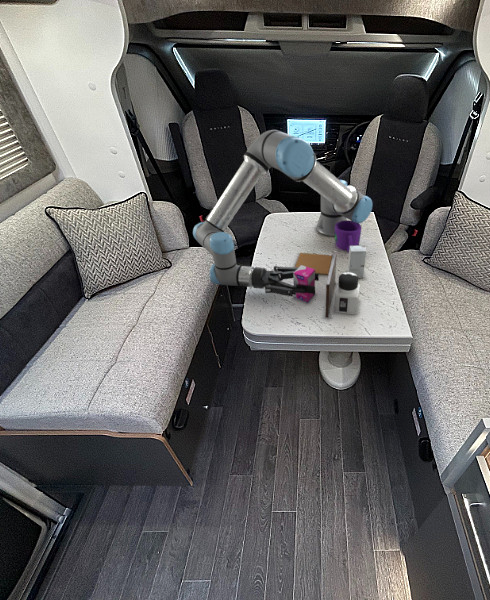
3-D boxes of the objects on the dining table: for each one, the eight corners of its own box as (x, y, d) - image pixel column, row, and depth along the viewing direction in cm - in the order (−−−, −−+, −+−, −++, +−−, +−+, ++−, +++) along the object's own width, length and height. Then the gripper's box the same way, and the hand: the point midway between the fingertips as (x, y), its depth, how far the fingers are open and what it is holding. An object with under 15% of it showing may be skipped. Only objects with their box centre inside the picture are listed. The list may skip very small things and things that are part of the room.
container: (356, 314, 117) (359, 284, 109) (334, 312, 118) (335, 281, 110) (358, 300, 123) (361, 270, 115) (337, 298, 124) (338, 268, 116)
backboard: (332, 283, 131) (333, 251, 122) (335, 283, 131) (336, 252, 122) (325, 317, 116) (326, 284, 107) (328, 317, 116) (329, 284, 107)
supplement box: (293, 298, 123) (292, 272, 116) (301, 290, 127) (301, 264, 120) (307, 303, 121) (307, 277, 114) (315, 294, 125) (315, 268, 118)
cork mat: (300, 253, 147) (300, 252, 147) (332, 256, 146) (332, 255, 145) (293, 271, 137) (293, 270, 136) (327, 275, 135) (327, 274, 135)
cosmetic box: (348, 278, 134) (350, 251, 126) (347, 271, 137) (348, 245, 129) (363, 277, 134) (366, 251, 126) (362, 271, 137) (365, 245, 130)
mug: (333, 240, 157) (333, 220, 151) (357, 239, 158) (359, 219, 151) (336, 260, 144) (337, 239, 137) (363, 259, 144) (365, 238, 138)
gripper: (262, 270, 132) (320, 276, 130) (246, 302, 117) (312, 309, 114) (260, 254, 128) (321, 259, 125) (243, 285, 112) (312, 292, 110)
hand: (316, 283), depth 120 cm, fingers closed on supplement box, 7 cm apart
